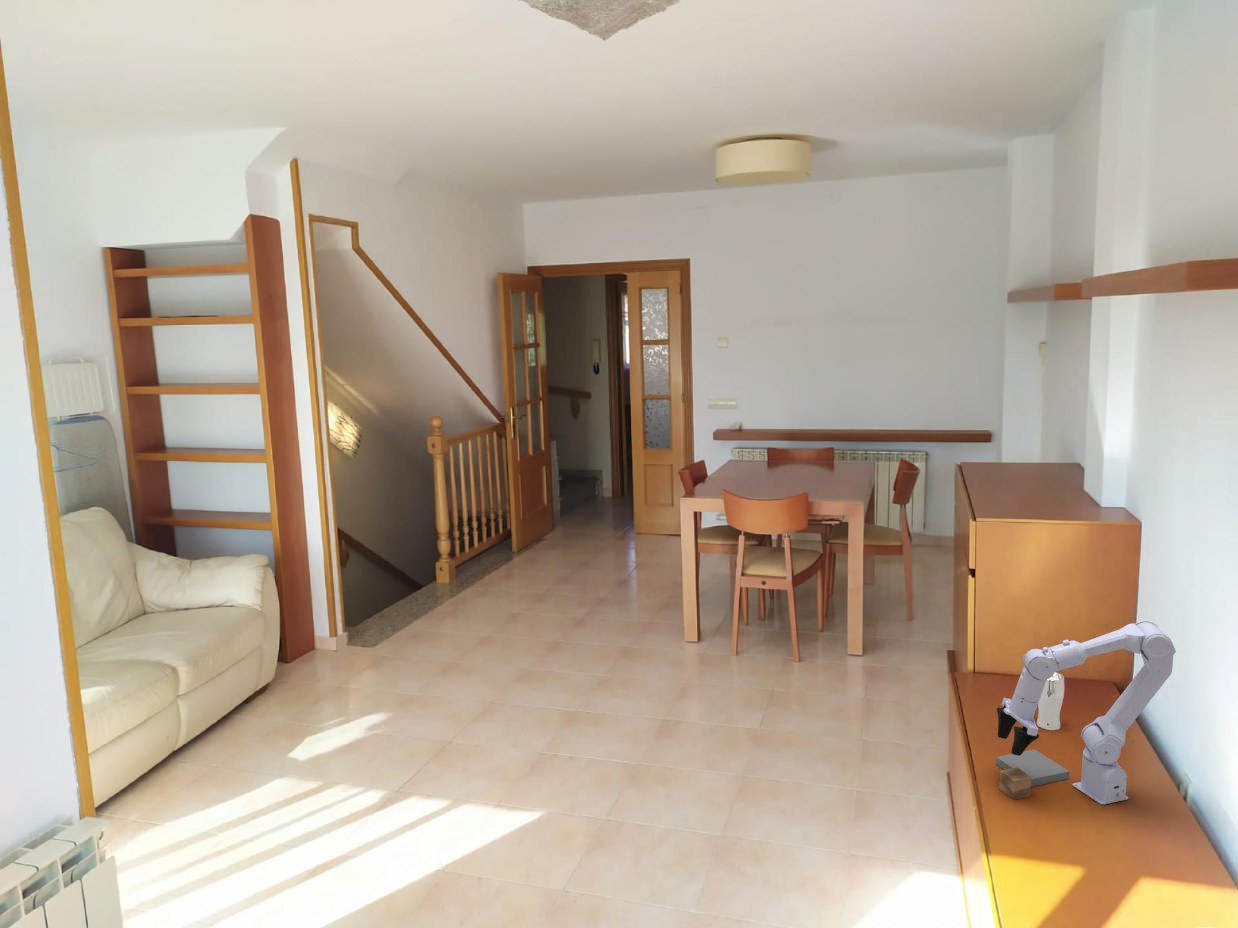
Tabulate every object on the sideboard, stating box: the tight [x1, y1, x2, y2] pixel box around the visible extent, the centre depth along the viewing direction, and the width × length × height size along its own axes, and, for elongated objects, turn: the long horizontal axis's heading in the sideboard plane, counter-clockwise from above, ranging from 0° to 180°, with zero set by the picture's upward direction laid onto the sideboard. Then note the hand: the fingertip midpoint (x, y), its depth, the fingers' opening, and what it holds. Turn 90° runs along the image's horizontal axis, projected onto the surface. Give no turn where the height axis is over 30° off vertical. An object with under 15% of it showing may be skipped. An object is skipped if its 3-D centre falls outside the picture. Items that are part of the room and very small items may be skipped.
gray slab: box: [995, 749, 1070, 788], centre depth 227 cm, size 12×12×2 cm
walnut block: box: [998, 768, 1032, 800], centre depth 217 cm, size 5×5×5 cm
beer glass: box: [1036, 671, 1065, 731], centre depth 250 cm, size 7×7×15 cm
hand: (1008, 745), depth 220 cm, fingers open, 7 cm apart
